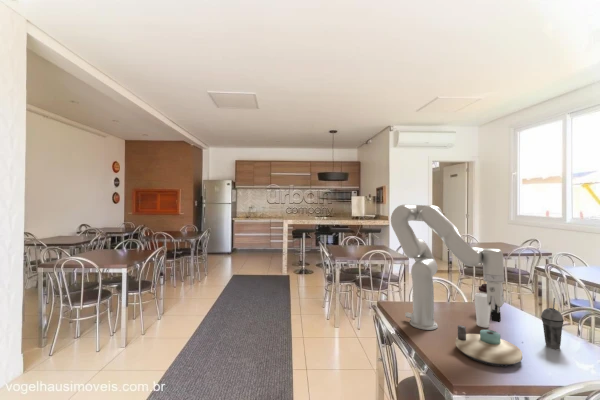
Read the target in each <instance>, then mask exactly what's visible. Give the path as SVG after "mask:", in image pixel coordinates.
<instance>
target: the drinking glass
mask: <svg viewBox="0 0 600 400" xmlns="http://www.w3.org/2000/svg"><path fill="white" fill-rule="evenodd" d="M474 308H475V318H476V325H477V326H478V327H480V328H483V329H485V328H487V329H488V328H490V319H491V315H490V310H491V305H490V306H489V305H488V302H487V294H484V293H480V292H476V293H474Z"/></svg>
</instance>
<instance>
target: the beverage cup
mask: <svg viewBox="0 0 600 400" xmlns="http://www.w3.org/2000/svg"><path fill="white" fill-rule="evenodd" d="M555 304H556V298H555V297H553V303H552V307H549V308H548V307H547V308H545V309H544V310H543V311H542V312H541V316H540V317H541V322H542V325H543V326H542V327H543V336H544V343H545V346H546V347H547V348H550V349H553V350H561V343H562V333H563V332H562V331H563V327H564V321H565V320H564V317H563V315H562V313H561V312H560V311H559V310H557V309H556V308H555V306H556V305H555Z"/></svg>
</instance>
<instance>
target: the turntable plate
mask: <svg viewBox="0 0 600 400" xmlns="http://www.w3.org/2000/svg"><path fill="white" fill-rule="evenodd" d="M500 341H501V343H500V344H489V343H485V342H483V341H482V340H480V333H467V328H466V326H464V325H457V337H456V338H455V346H456V348H457V349H458V350H459V351H460V352H462V354H464V353H465V354H467V355H469V356H471V357H473V358H476V359H479V360H482V361H486V362H491V363H497V364H513V365H515V364H518V363H521V362H522V360H523V351H522V350H521V349H520V347H518V346H516V345H515V344H513V343H512V342H509V341H507V340H505V339H502V338H500ZM465 354H464V355H465ZM514 363H515V364H514Z"/></svg>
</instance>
